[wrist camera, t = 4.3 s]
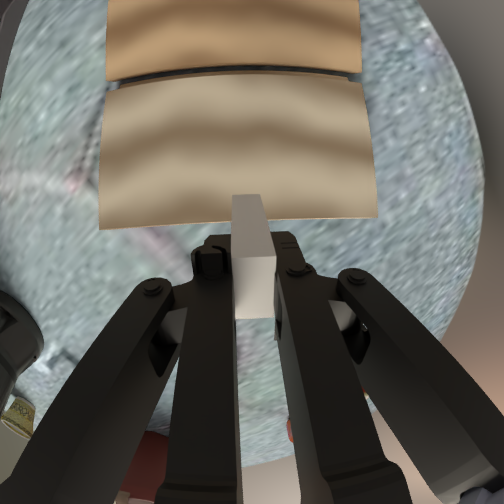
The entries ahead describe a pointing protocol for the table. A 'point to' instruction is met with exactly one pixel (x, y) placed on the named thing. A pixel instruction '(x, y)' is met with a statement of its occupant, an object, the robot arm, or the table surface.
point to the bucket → (145, 470)
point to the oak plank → (231, 35)
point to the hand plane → (9, 30)
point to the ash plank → (235, 148)
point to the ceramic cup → (20, 417)
